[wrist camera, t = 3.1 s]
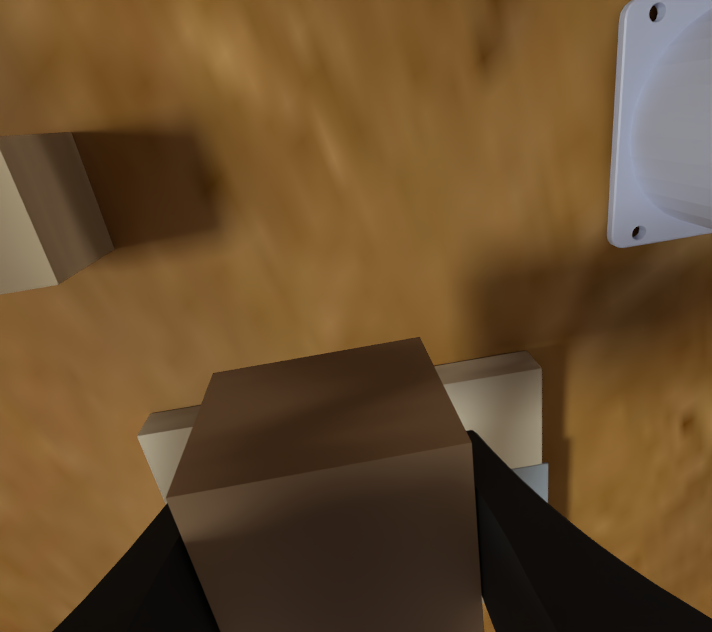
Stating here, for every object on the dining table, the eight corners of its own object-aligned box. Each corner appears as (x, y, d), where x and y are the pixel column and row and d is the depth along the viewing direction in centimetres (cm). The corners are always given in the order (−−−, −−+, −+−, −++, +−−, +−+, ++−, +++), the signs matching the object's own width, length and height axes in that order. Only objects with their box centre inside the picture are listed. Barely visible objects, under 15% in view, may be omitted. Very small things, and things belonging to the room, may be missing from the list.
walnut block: (419, 336, 11) (471, 442, 8) (436, 494, 13) (484, 638, 10) (213, 373, 11) (165, 498, 8) (261, 526, 13) (242, 684, 10)
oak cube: (72, 131, 16) (-6, 136, 12) (115, 248, 17) (58, 284, 13) (-47, 152, 16) (-161, 163, 12) (7, 266, 17) (-79, 307, 13)
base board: (532, 349, 20) (549, 368, 18) (534, 566, 25) (547, 594, 23) (150, 413, 20) (136, 437, 18) (230, 616, 25) (224, 647, 23)
